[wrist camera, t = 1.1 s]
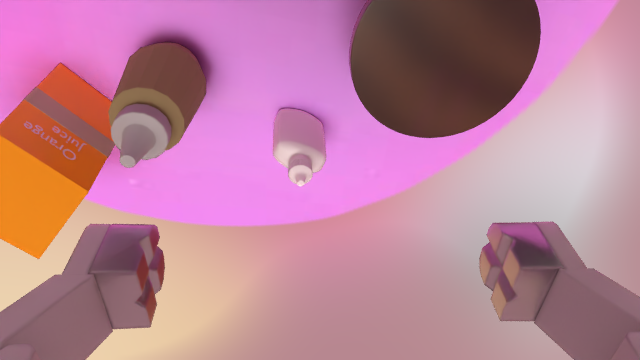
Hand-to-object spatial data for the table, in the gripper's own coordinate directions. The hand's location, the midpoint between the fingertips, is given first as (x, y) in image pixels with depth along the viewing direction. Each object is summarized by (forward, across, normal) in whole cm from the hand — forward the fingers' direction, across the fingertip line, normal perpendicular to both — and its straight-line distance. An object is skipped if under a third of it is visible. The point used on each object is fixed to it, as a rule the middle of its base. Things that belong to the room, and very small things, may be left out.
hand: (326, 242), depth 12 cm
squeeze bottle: (+41, +13, +13) cm, 45 cm away
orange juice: (+41, +24, +18) cm, 51 cm away
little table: (+41, -12, +7) cm, 43 cm away
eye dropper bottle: (+41, 0, +20) cm, 46 cm away
